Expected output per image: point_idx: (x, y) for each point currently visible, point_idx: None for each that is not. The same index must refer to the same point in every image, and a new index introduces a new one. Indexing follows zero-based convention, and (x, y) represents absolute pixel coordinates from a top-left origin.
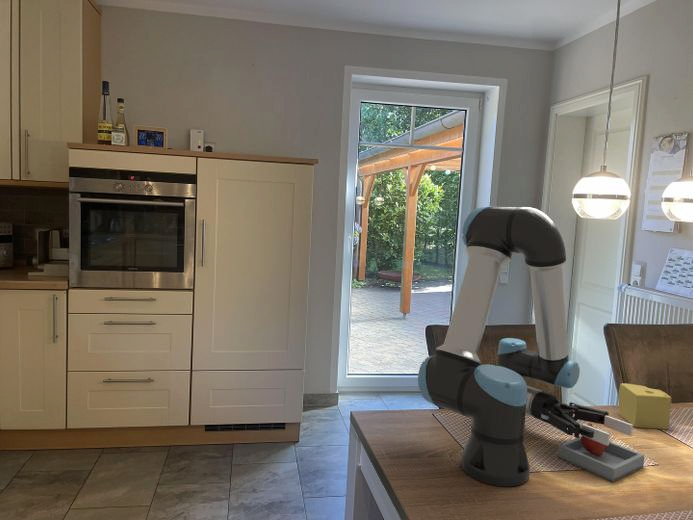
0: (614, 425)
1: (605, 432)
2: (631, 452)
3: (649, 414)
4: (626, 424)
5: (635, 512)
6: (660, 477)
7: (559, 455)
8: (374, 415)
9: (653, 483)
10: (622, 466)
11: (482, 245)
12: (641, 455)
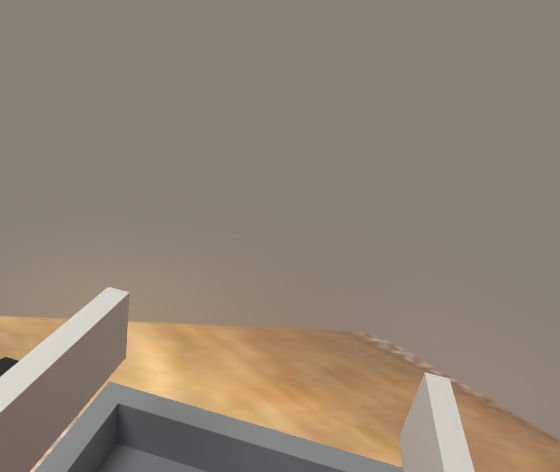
0: (50, 413)
1: (441, 395)
2: (96, 435)
3: None
4: (110, 315)
5: (518, 423)
6: (179, 377)
7: None
8: None
9: (255, 393)
10: (331, 450)
11: None
12: (125, 391)
